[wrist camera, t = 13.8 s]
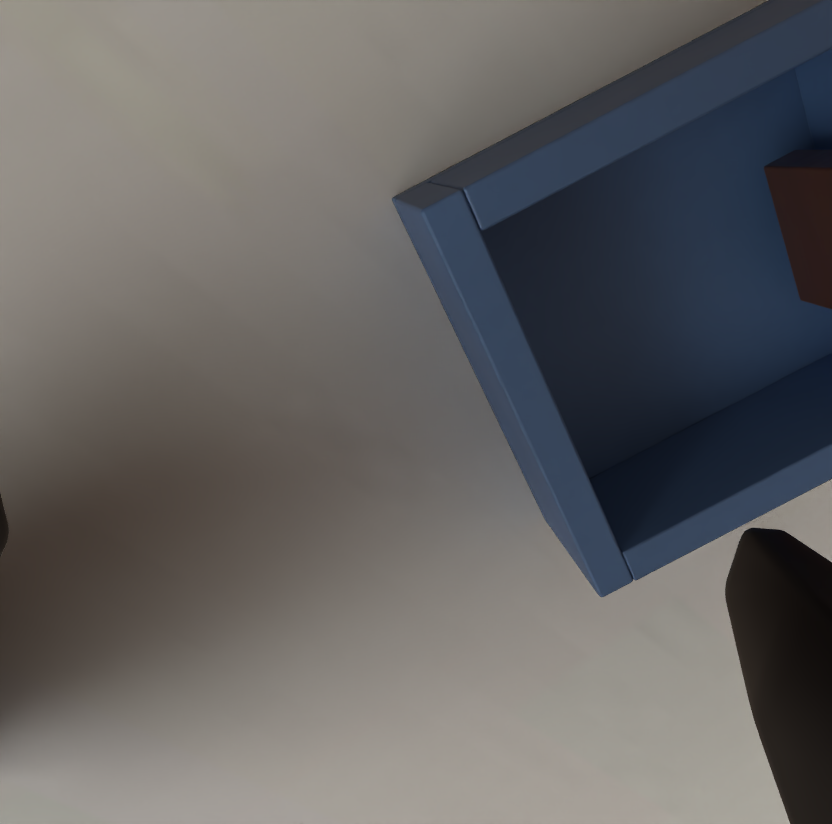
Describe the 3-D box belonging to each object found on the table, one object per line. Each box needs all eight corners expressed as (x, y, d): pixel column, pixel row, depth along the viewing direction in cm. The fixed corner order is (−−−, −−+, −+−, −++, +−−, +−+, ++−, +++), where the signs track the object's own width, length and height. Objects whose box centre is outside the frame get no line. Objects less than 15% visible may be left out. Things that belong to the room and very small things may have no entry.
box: (544, 520, 24) (600, 599, 19) (390, 197, 20) (419, 210, 15) (881, 345, 24) (1010, 387, 19) (796, -15, 20) (935, -60, 15)
